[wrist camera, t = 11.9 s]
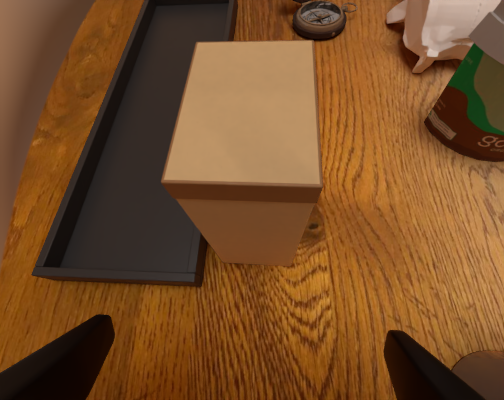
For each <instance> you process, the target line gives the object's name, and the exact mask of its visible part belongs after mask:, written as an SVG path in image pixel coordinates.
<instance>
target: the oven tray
mask: <svg viewBox="0 0 504 400" xmlns="http://www.w3.org/2000/svg"><path fill="white" fill-rule="evenodd" d="M237 7H238V3H237V0H144V3H143V5H142V8H141V10H140V13H139V15H138V17H137V20H136V22H135V25H134V27H133V30H132V32H131V34H130V37H129V39H128V42H127V44H126V47H125V49H124V51H123V54H122V56H121V59H120V61H119V63H118V66H117V68H116V71H115V73H114V76H113V78H112V80H111V83H110V85H109V88H108V90H107V93H106V95H105V97H104V100H103V102H102V105H101V107H100V109H99V112H98V114H97V117H96V119H95V122H94V124H93V126H92V129H91V131H90V134H89V136H88V139H87V141H86V143H85V146H84V148H83V151H82V153H81V155H80V158H79V160H78V163H77V165H76V168H75V170H74V172H73V175H72V177H71V180H70V182H69V185H68V187H67V189H66V192H65V194H64V197H63V199H62V202H61V204H60V206H59V209H58V211H57V214H56V216H55V218H54V221H53V223H52V226H51V228H50V231H49V233H48V235H47V238H46V240H45V243H44V245H43V248H42V250H41V252H40V255H39V257H38V260H37V262H36V264H35V266H36V267H34V270H33V272H32V276H37V277H41V278H46V279H51V280H61V281H84V282H106V283H129V284H151V285H174V286H196V287H201V286H202V279H203V271H204V264H205V256H206V248H207V240H206V239H205V238H204V236H203V235H202V234H201V232H200V231H199V230H198V228H197V227H196V226H195V224H194V223H193V222H192V220H191V219H190V217H189V216H188V215H187V213H186V212H185V211H184V209H183V208H182V207H181V205H180V204H179V203H178V201H177V200H176V199H174V198H172V197H171V195H170V194H169V193H168V191H167V190H166V189H165V187H164V186H163V185H162V183H161V179H162V175H163V171H164V167H165V164H166V160H167V156H168V152H169V148H170V144H171V140H172V136H173V132H174V128H175V124H176V120H177V116H178V112H179V108H180V104H181V100H182V96H183V92H184V88H185V84H186V80H187V76H188V72H189V69H190V65H191V61H192V57H193V53H194V49H195V45H196V42H220V41H233V38H234V31H235V23H236V15H237Z"/></svg>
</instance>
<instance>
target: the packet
mask: <svg viewBox="0 0 504 400" xmlns="http://www.w3.org/2000/svg"><path fill="white" fill-rule="evenodd" d="M161 183H162V185H163V186H164V187H165V189H166V190H167V191H168V193H169V194H170V195H171V197H172V198H174V199H176V200H177V201H178V203H179V204H180V205H181V207H182V208H183V209H184V211H185V212H186V213H187V215H188V216H189V217H190V219H191V220H192V222H193V223H194V224H195V226H196V227H197V228H198V230H199V231H200V232H201V234H202V235H203V236H204V238H205V239H206V240H207V242H208V243H209V244H210V246H211V247H212V248H213V250H214V251H215V253H216V254H217V255H218V257H219V258H220V259H221V261H222V262H223V263H239V264H258V265H276V266H291V264H292V261H293V259H294V256H295V254H296V251H297V248H298V246H299V243H300V240H301V238H302V235H303V232H304V230H305V227H306V224H307V222H308V219H309V217H310V214H311V211H312V209H313V206H314V203H317V201H318V198H319V196H320V193H321V191H322V188H323V177H322V160H321V144H320V128H319V112H318V96H317V79H316V63H315V47H314V40H279V41H220V42H196V45H195V49H194V53H193V57H192V61H191V65H190V69H189V72H188V76H187V80H186V84H185V88H184V92H183V96H182V100H181V104H180V108H179V112H178V116H177V120H176V124H175V128H174V132H173V136H172V140H171V144H170V148H169V152H168V156H167V160H166V164H165V167H164V171H163V175H162V179H161Z"/></svg>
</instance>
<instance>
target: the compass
mask: <svg viewBox="0 0 504 400" xmlns="http://www.w3.org/2000/svg"><path fill="white" fill-rule="evenodd" d="M293 1H295V2H299V3H301V6H302V7H300V8H299V9H298V10H296V12H295V13H294V15H293V27H294V29H295V30H296V31H297V32H298V33H299V34H301V35H303V36H305V37H308V38H312V39H326V38H330V37H333V36H335V35H337V34H339V33H340V32H341V31H342V30H343V29H344V27H345V24H346V15H345V13H344V12H354V11H356V10H357V5H356V4H354V3H345V4H343V5H342V7H341V8H340V7H339V6H338V5H336V4H334V3H332V2H329V1H321V0H319V1H312V2H311V0H293ZM346 4H352V5H354V6H356V9H355V10H353V11H347V10H348V7H347V6H345V7H343V6H344V5H346Z"/></svg>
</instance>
